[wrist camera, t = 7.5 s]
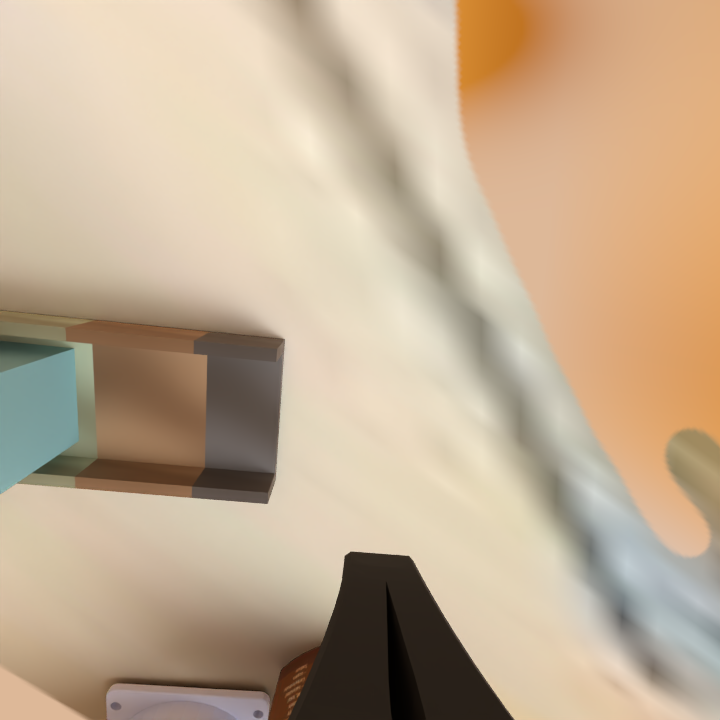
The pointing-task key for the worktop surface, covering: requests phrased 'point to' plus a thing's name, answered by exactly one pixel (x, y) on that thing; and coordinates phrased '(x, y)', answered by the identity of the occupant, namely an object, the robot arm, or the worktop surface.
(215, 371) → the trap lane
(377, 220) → the worktop surface
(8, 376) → the teal block
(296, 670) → the food container
